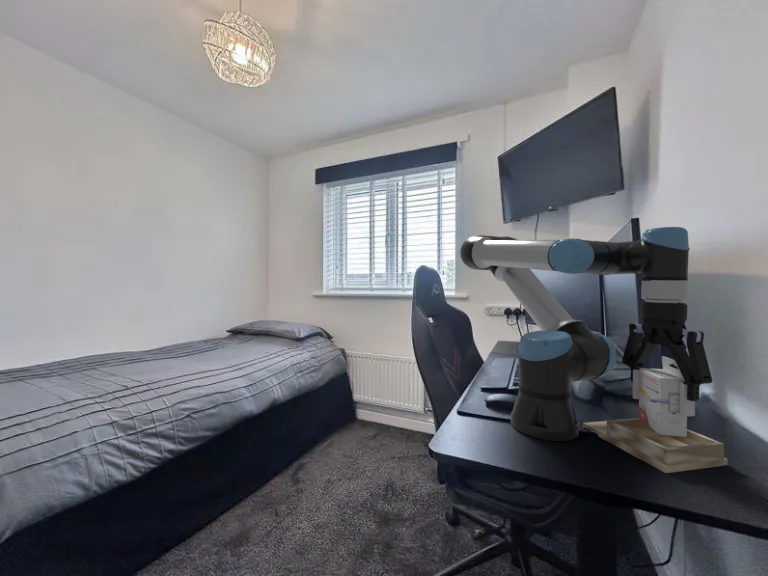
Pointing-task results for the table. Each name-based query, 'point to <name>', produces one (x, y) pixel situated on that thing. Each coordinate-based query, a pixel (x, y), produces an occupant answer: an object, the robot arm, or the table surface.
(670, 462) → the wooden tray
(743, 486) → the table surface
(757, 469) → the table surface
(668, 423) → the ink cartridge box
